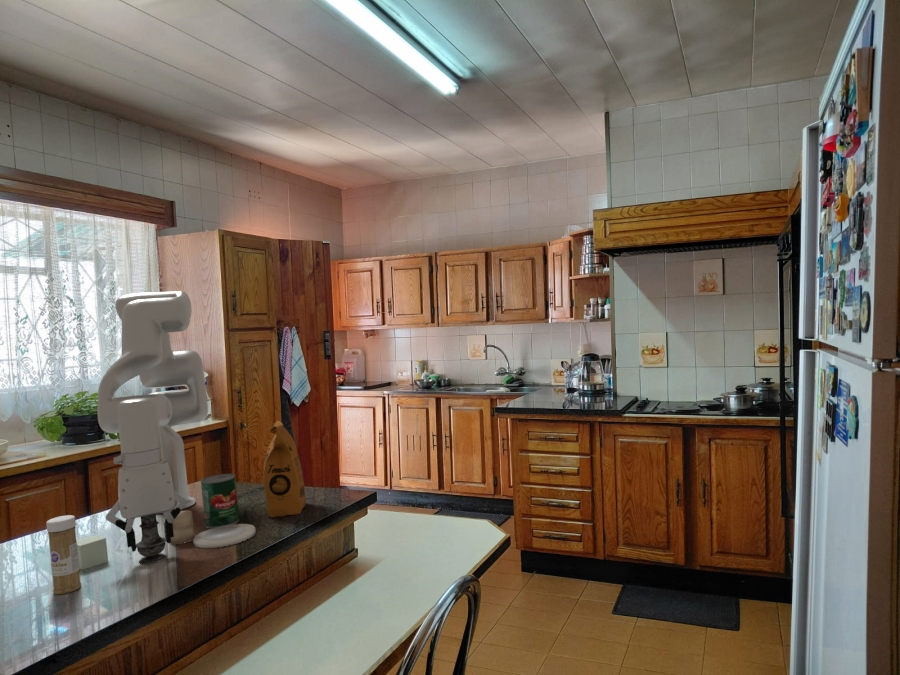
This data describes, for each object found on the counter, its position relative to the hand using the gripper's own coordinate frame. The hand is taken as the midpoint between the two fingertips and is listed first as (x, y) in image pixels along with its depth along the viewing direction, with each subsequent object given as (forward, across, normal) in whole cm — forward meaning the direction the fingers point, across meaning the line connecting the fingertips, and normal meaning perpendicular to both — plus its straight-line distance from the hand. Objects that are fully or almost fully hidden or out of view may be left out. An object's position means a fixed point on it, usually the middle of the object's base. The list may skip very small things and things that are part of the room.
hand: (151, 544), depth 130 cm
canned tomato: (+3, +17, +16) cm, 24 cm away
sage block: (+3, -11, +8) cm, 14 cm away
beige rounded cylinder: (+3, +7, +9) cm, 12 cm away
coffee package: (+3, +32, +14) cm, 35 cm away
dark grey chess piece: (+3, 0, 0) cm, 3 cm away
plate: (+3, +15, +3) cm, 16 cm away
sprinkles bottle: (+3, -15, -6) cm, 16 cm away
